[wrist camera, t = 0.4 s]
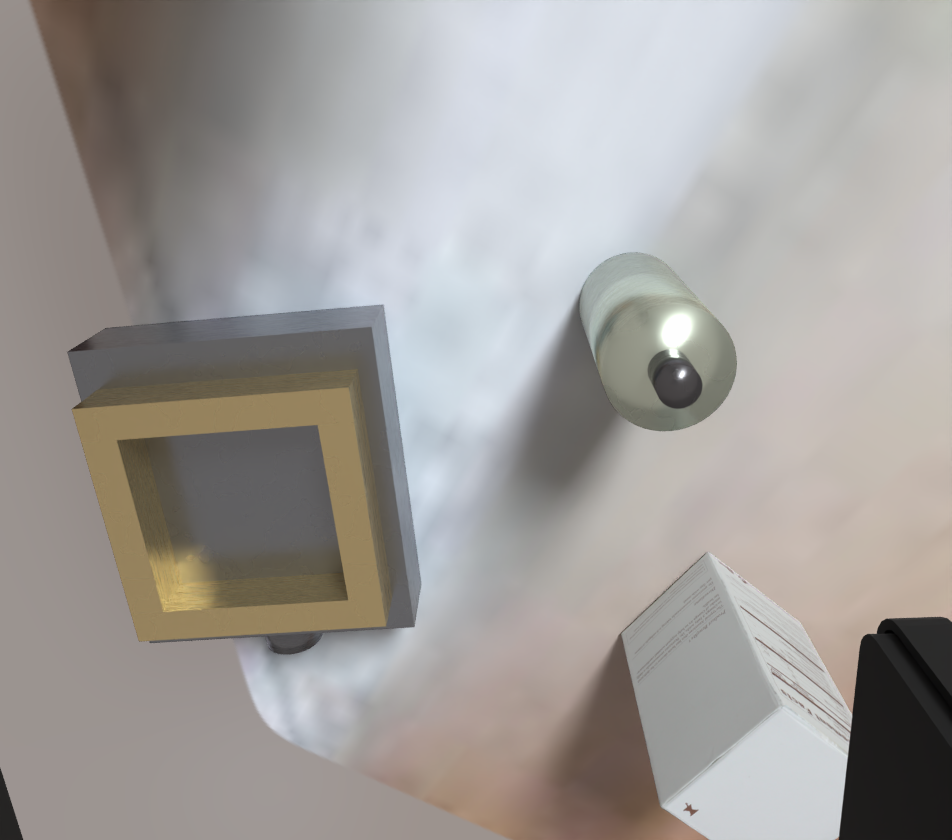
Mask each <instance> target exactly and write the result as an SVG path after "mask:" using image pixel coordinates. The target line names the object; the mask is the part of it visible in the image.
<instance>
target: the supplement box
mask: <svg viewBox="0 0 952 840" xmlns="http://www.w3.org/2000/svg"><path fill="white" fill-rule="evenodd" d="M621 636H622V640H623V644H624V649H625V653H626V658H627V662H628V666H629V671H630V675H631V679H632V684H633V688H634V693H635V697H636V702H637V706H638V710H639V715H640V719H641V724H642V728H643V732H644V737H645V741H646V745H647V750H648V754H649V758H650V764H651V768H652V772H653V776H654V781H655V785H656V790H657V794H658V799H659V803H660V806H661V808H663V809H664V810H666V811H667V812H669V813H671V814H672V815H674V816H675V817H677V818H678V819H679V820H681V821H682V822H684V823H685V824H687V825H688V826H690V827H691V828H693V829H694V830H696V831H697V832H699V833H700V834H702V835H703V836H705V837H706V838H708V839H709V840H835V839H836V838H838V837H839V831H840V822H841V813H842V804H843V795H844V786H845V777H846V768H847V759H848V750H849V741H850V732H851V723H852V714H851V712H850V710H849V709H848V707H847V705H846V703H845V701H844V699H843V698H842V696H841V694H840V692H839V691H838V689H837V687H836V685H835V683H834V682H833V680H832V678H831V676H830V674H829V673H828V671H827V669H826V667H825V665H824V664H823V662H822V660H821V658H820V657H819V655H818V653H817V651H816V649H815V647H814V646H813V644H812V642H811V640H810V638H809V636H808V635H807V633H806V631H805V629H804V628H803V626H802V624H801V623H800V622H799V621H798V620H797V619H795V618H794V617H793V616H791V615H790V614H789V613H787V612H786V611H785V610H784V609H782V608H781V607H780V606H778V605H777V604H776V603H774V602H773V601H772V600H771V599H769V598H768V597H767V596H765V595H764V594H763V593H761V592H760V591H759V590H758V589H757V588H755V587H754V586H753V585H751V584H750V583H749V582H748V581H746V580H745V579H744V578H742V577H741V576H740V575H739V574H737V573H736V572H735V571H733V570H732V569H731V568H729V567H728V566H727V565H726V564H724V563H723V562H722V561H720V560H719V559H718V558H717V557H715V556H714V555H713V554H711V553H710V552H707V553H706V554H705V555H704V556H703V557H702V558H701V559H700V560H699V561H698V562H697V563H695V564H694V565H693V566H692V567H691V568H690V569H689V570H688V571H687V572H686V573H685V574H684V575H683V576H682V577H681V578H680V579H679V580H677V581H676V582H675V583H674V584H673V585H672V586H671V587H670V588H669V589H668V590H667V591H666V592H665V593H664V594H663V595H662V596H661V597H659V598H658V599H657V600H656V601H655V602H654V603H653V604H652V605H651V606H650V607H649V608H648V609H647V610H646V611H645V612H644V613H643V614H642V615H640V616H639V617H638V618H637V619H636V620H635V621H634V622H633V623H632V624H631V625H630V626H629V627H628V628H627V629H626V630H624V631H623V632H622V634H621Z"/></svg>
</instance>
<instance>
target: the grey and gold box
mask: <svg viewBox="0 0 952 840" xmlns="http://www.w3.org/2000/svg"><path fill="white" fill-rule="evenodd" d="M68 356H69V359H70V363H71V367H72V370H73V373H74V377H75V381H76V384H77V387H78V391H79V395H80V398H81V403H79V404H78V405H77V406H75V407H74V408H73V409H72V412H73V415H74V419H75V422H76V426H77V429H78V433H79V436H80V439H81V443H82V446H83V450H84V453H85V456H86V460H87V464H88V467H89V471H90V474H91V477H92V481H93V484H94V488H95V491H96V494H97V498H98V502H99V505H100V508H101V512H102V515H103V519H104V522H105V526H106V529H107V533H108V536H109V540H110V543H111V546H112V550H113V553H114V557H115V560H116V564H117V567H118V571H119V574H120V578H121V581H122V584H123V588H124V591H125V595H126V598H127V602H128V605H129V609H130V612H131V616H132V619H133V623H134V626H135V629H136V633H137V636H138V640H139V641H150V643H160V642H176V641H192V640H209V639H225V638H242V637H258V636H266V641H267V645H268V647H269V649H270V650H271V651H273V652H275V653H278V654H295V653H299V652H302V651H305V650H307V649H309V648H311V647H312V646H314V645H315V644H316V643H317V642H318V641H319V640H320V638H321V636H322V633H324V632H340V631H357V630H373V629H390V628H406V627H415V620H416V614H417V608H418V601H419V595H420V589H421V579H420V571H419V564H418V556H417V549H416V542H415V534H414V527H413V520H412V512H411V505H410V497H409V490H408V483H407V475H406V468H405V461H404V453H403V446H402V438H401V431H400V424H399V416H398V409H397V402H396V394H395V387H394V380H393V372H392V365H391V357H390V350H389V343H388V335H387V328H386V321H385V313H384V306H383V305H374V306H362V307H350V308H339V309H327V310H315V311H303V312H291V313H279V314H267V315H255V316H243V317H231V318H220V319H208V320H196V321H184V322H172V323H160V324H148V325H136V326H126V327H125V326H124V327H112V328H105V329H103V330H102V331H100V332H99V333H97V334H95V335H94V336H92V337H91V338H89V339H87V340H86V341H84V342H83V343H81V344H79V345H78V346H76V347H75V348H73V349H71V350H70V351H68Z"/></svg>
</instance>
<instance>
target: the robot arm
mask: <svg viewBox="0 0 952 840" xmlns="http://www.w3.org/2000/svg"><path fill="white" fill-rule="evenodd" d="M0 840H23V838H22V834H21V832H20V828H19V825H18V822H17V819H16V816H15V813H14V809H13V806H12V803H11V800H10V797H9V794H8V791H7V787H6V784H5V781H4V778H3V775H2V772H1V769H0ZM839 840H952V622H951V621H950V620H949V619H947V618H943V617H924V618H894V619H885V620H883V621H882V622H881V624H880V625H879V627H878V630H877V634H867V635H865V636H864V637H863V639H862V640H861V645H860V651H859V660H858V669H857V678H856V687H855V696H854V705H853V714H852V723H851V732H850V741H849V750H848V759H847V768H846V777H845V786H844V795H843V804H842V813H841V822H840V831H839Z"/></svg>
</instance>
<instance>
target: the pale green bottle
mask: <svg viewBox="0 0 952 840" xmlns="http://www.w3.org/2000/svg"><path fill="white" fill-rule="evenodd" d="M579 311H580V317H581V321H582V324H583V327H584V330H585V333H586V336H587V339H588V342H589V345H590V348H591V351H592V354H593V357H594V360H595V363H596V366H597V369H598V372H599V375H600V378H601V381H602V384H603V387H604V390H605V392H606V395H607V397H608V399H609V401H610V402H611V404H612V406H613V407H614V408H615V409H616V411H617V412H618V413H619V414H620V415H621V416H622V417H624V418H625V419H627V420H628V421H629V422H631V423H633V424H635V425H637V426H640V427H642V428H645V429H649V430H655V431H673V430H680V429H683V428H687V427H690V426H692V425H695V424H697V423H699V422H701V421H702V420H704V419H705V418H707V417H708V416H710V415H711V414H712V413H713V412H714V411H715V410H717V408H718V407H719V406H720V405H721V404H722V403H723V401H724V400H725V399H726V397H727V395H728V394H729V392H730V390H731V388H732V385H733V382H734V379H735V375H736V367H737V360H736V352H735V347H734V344H733V341H732V339H731V337H730V335H729V333H728V332H727V330H726V329H725V328H724V326H723V325H722V324H721V323H720V322H719V321H718V320H717V319H716V317H715V316H714V315H713V314H712V313H711V312H710V311H709V310H708V309H707V308H706V306H705V305H704V304H703V303H702V302H701V301H700V300H699V299H698V298H697V297H696V295H695V294H694V293H693V292H692V291H691V290H690V289H689V288H688V287H687V286H686V284H685V283H684V282H683V281H682V280H681V279H680V278H679V277H678V276H677V275H676V273H675V272H674V271H673V270H672V269H671V268H670V267H669V266H668V265H667V264H666V263H664V262H663V261H662V260H660V259H658V258H656V257H654V256H651V255H648V254H644V253H624V254H620V255H617V256H614V257H612V258H609V259H608V260H606V261H604V262H603V263H601V264H600V265H599V266H598V267H597V268H596V269H595V270H593V272H592V273H591V274H590V275H589V277H588V278H587V280H586V282H585V284H584V286H583V288H582V291H581V295H580V301H579Z"/></svg>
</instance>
